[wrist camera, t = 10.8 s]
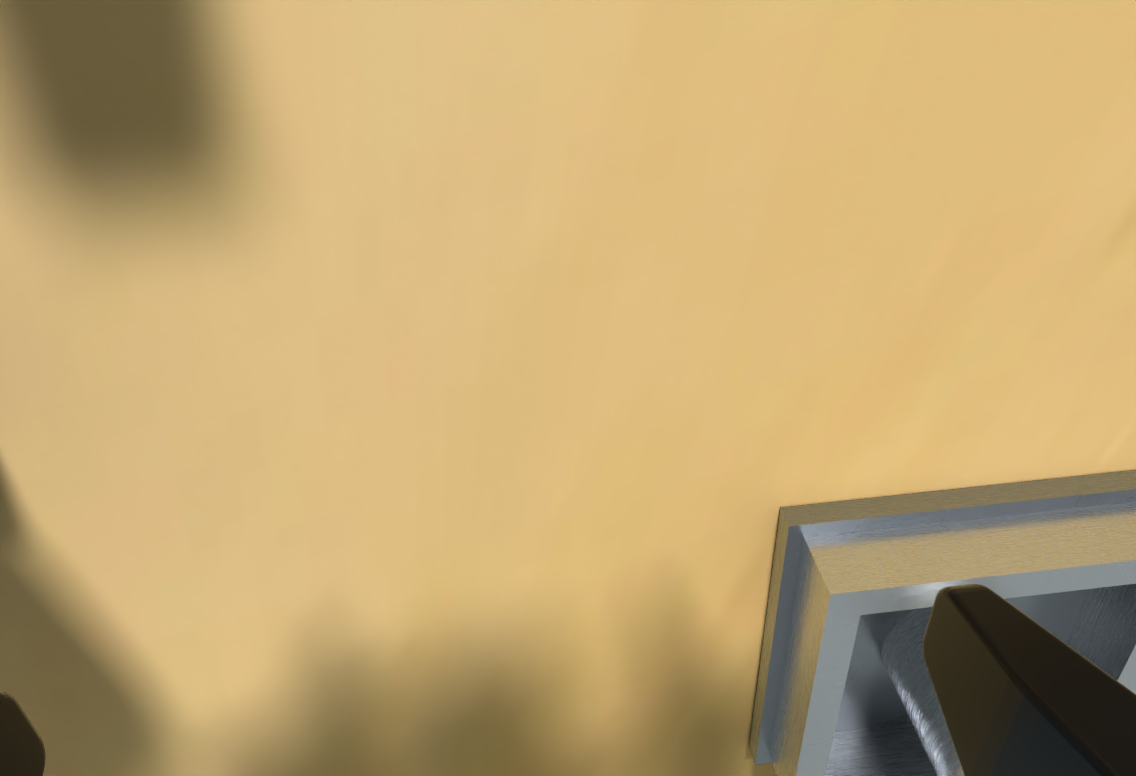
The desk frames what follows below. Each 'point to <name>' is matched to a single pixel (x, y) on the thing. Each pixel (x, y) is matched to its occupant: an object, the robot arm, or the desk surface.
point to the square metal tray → (928, 604)
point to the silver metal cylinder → (919, 690)
